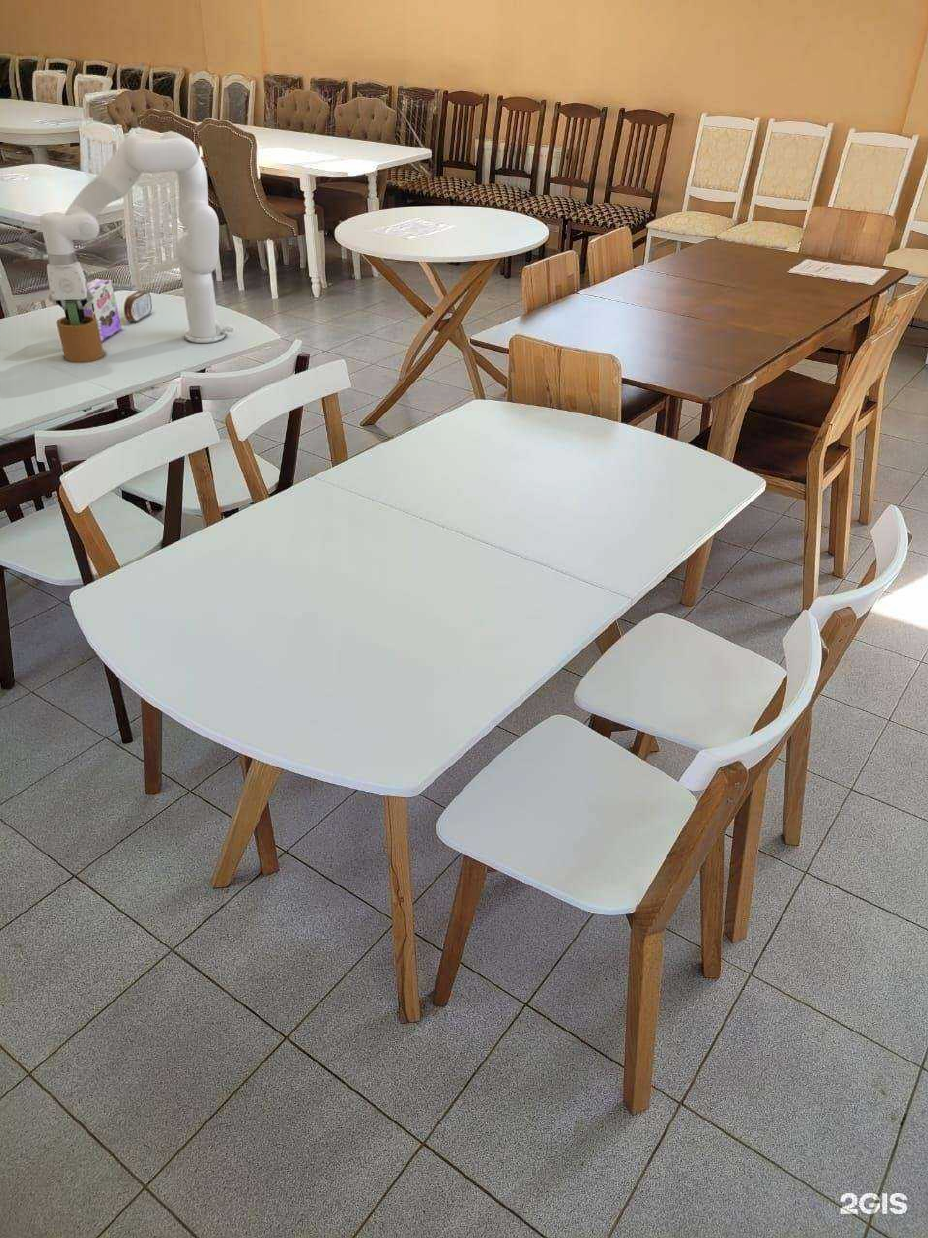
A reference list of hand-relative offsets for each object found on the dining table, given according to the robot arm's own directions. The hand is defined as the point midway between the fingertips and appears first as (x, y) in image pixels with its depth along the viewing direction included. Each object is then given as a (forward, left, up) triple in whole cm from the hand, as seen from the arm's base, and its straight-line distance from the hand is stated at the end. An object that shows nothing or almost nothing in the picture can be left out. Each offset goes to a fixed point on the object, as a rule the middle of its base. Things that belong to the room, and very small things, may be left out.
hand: (76, 320), depth 278 cm
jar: (0, 0, -11) cm, 11 cm away
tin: (-13, -36, -11) cm, 40 cm away
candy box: (-3, -19, -11) cm, 22 cm away
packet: (0, 0, -1) cm, 1 cm away
